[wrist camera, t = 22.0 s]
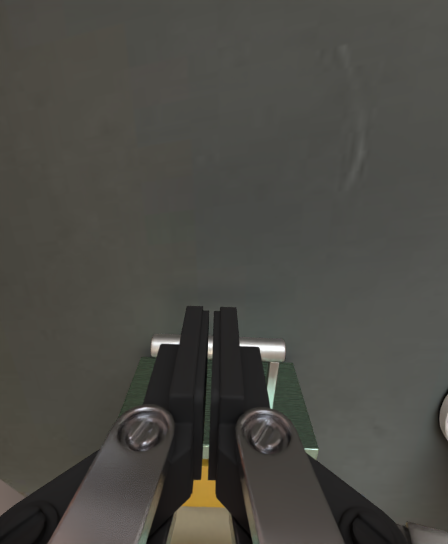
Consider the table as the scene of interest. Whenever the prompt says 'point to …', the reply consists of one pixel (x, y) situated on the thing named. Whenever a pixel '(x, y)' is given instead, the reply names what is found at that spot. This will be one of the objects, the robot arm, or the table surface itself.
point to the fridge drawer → (282, 396)
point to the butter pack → (203, 491)
